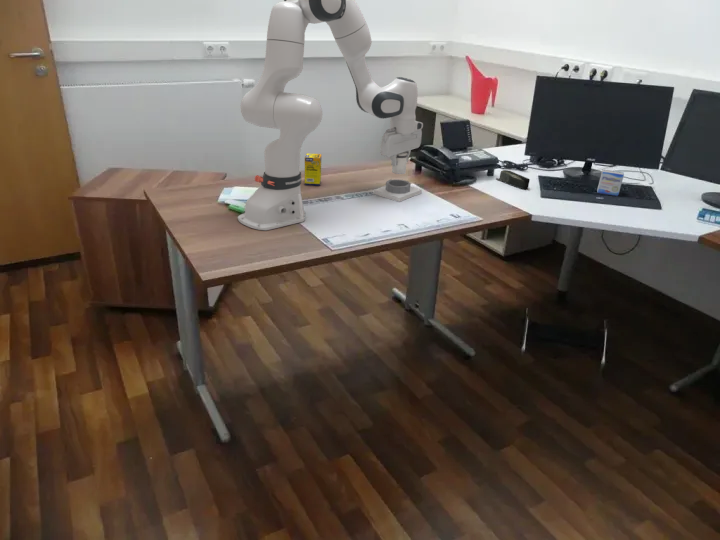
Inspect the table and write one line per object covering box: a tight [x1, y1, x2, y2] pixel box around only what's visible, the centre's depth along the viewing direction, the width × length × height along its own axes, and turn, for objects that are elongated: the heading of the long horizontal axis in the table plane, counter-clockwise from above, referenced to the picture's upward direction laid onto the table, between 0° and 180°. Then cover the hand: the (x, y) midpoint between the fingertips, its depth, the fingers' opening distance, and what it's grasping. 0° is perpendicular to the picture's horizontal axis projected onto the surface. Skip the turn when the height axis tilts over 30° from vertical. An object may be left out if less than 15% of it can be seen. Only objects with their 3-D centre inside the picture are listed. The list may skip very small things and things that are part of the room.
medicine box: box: [596, 169, 625, 197], centre depth 216 cm, size 8×4×9 cm, turn 68°
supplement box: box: [304, 153, 322, 187], centre depth 210 cm, size 6×6×11 cm
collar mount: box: [372, 178, 423, 203], centre depth 206 cm, size 14×12×4 cm
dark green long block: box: [495, 169, 531, 191], centre depth 222 cm, size 5×3×15 cm
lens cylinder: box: [391, 152, 407, 175], centre depth 202 cm, size 5×5×7 cm
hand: (399, 163), depth 202 cm, fingers closed on lens cylinder, 5 cm apart
